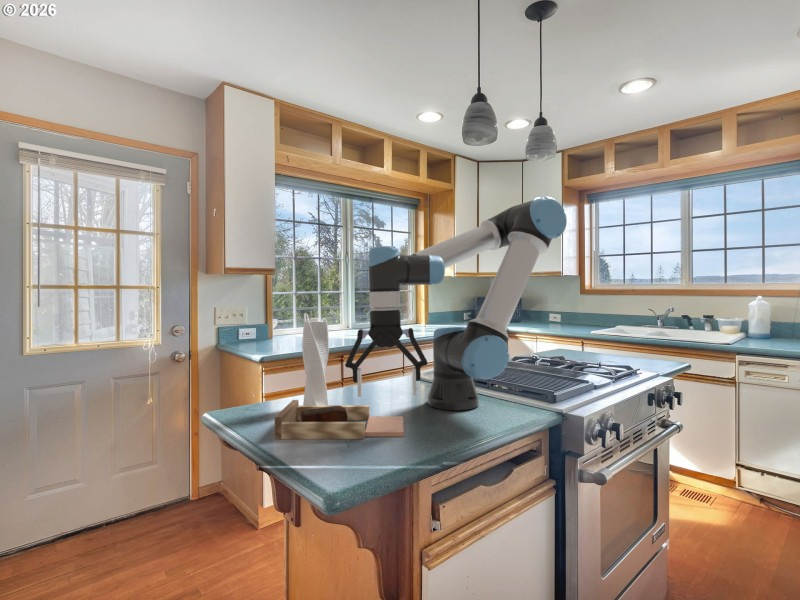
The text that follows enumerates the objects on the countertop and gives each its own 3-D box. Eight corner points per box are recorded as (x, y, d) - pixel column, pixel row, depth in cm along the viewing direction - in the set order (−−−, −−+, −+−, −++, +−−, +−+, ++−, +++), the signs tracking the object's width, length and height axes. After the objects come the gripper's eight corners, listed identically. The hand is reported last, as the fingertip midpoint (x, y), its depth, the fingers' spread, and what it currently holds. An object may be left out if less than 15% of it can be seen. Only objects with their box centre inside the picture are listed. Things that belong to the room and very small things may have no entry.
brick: (303, 434, 100) (302, 415, 100) (301, 428, 104) (300, 410, 104) (347, 427, 104) (347, 408, 104) (344, 421, 108) (343, 403, 107)
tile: (403, 420, 113) (403, 416, 113) (403, 436, 100) (403, 432, 100) (369, 420, 113) (369, 416, 113) (364, 436, 100) (364, 432, 100)
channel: (369, 418, 114) (369, 399, 114) (364, 438, 98) (364, 417, 98) (292, 418, 114) (292, 399, 114) (274, 439, 98) (274, 417, 98)
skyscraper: (296, 410, 122) (295, 312, 122) (310, 404, 129) (310, 311, 129) (319, 413, 119) (319, 313, 119) (333, 407, 126) (333, 312, 126)
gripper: (434, 307, 110) (436, 389, 110) (336, 310, 110) (339, 392, 110) (436, 308, 102) (438, 397, 102) (332, 311, 102) (334, 399, 102)
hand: (387, 394), depth 106 cm, fingers open, 13 cm apart
